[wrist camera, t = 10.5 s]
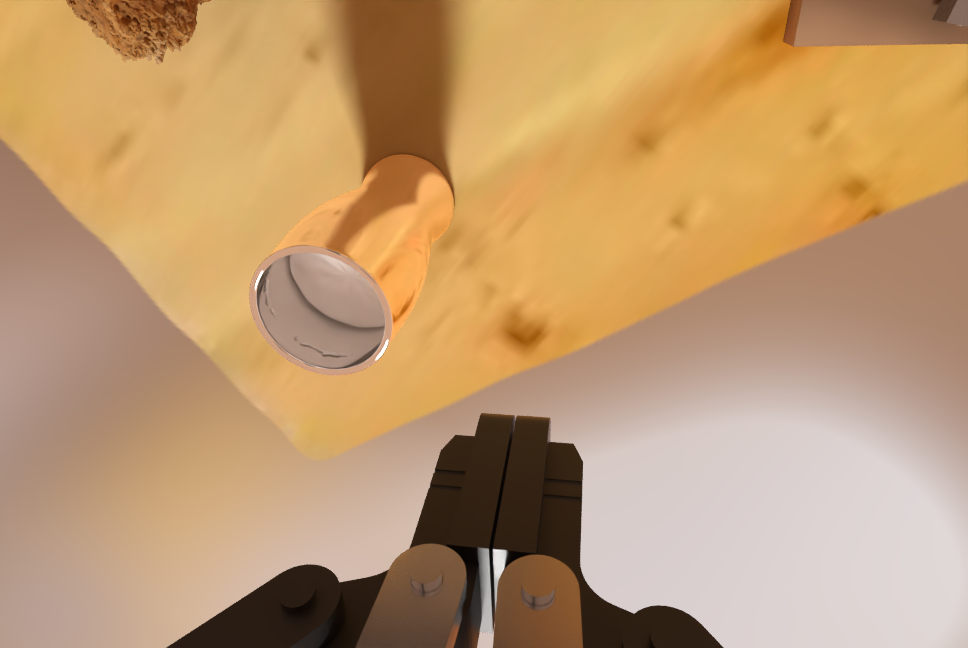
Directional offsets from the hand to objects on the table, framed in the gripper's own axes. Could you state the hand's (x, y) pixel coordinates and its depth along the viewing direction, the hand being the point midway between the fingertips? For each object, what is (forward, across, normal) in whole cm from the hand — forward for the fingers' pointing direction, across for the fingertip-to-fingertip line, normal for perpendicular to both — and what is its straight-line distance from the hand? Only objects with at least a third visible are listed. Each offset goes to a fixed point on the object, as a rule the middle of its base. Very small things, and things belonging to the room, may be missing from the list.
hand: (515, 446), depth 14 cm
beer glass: (+27, +10, +4) cm, 29 cm away
